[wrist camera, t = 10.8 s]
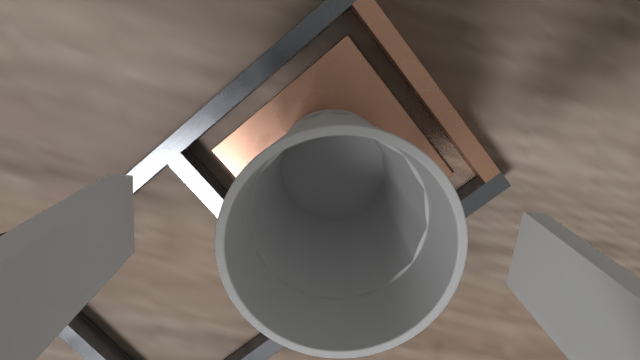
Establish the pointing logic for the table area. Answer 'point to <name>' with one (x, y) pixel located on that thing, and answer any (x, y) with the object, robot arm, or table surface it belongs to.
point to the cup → (341, 238)
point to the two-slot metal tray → (290, 106)
